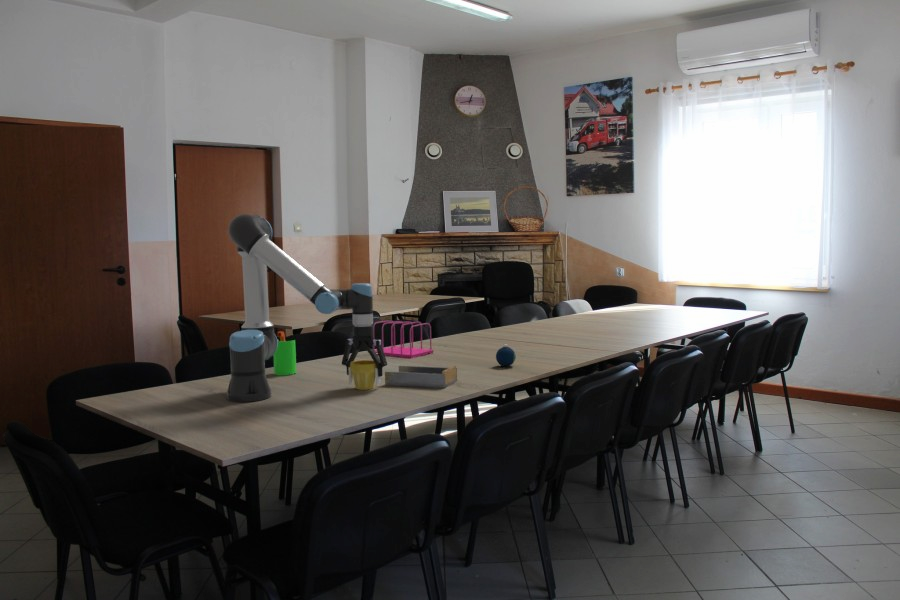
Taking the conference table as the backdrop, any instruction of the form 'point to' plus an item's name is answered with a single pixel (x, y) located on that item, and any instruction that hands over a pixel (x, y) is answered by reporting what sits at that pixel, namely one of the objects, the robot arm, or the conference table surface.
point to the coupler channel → (422, 376)
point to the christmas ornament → (505, 356)
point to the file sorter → (403, 350)
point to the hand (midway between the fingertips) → (364, 384)
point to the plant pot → (363, 374)
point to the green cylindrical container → (285, 356)
